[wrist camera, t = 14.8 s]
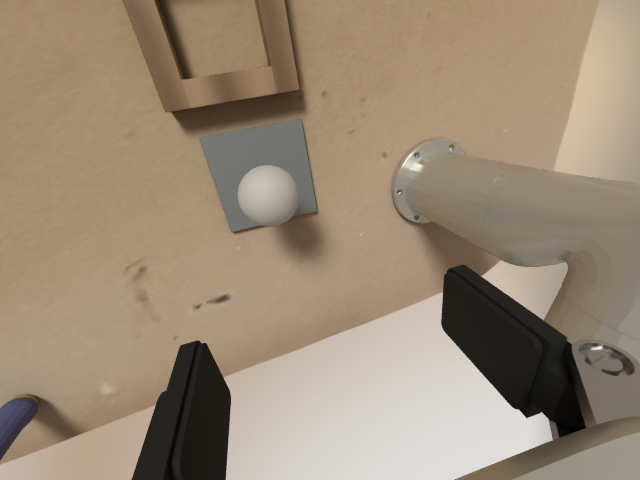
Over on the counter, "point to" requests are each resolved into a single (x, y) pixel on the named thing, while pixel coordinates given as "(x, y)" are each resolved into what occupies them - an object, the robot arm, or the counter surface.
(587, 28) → the counter surface
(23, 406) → the rubber mallet
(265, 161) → the rubber mat
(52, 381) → the counter surface
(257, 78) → the socket block
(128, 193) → the counter surface
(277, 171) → the lightbulb
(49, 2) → the counter surface
